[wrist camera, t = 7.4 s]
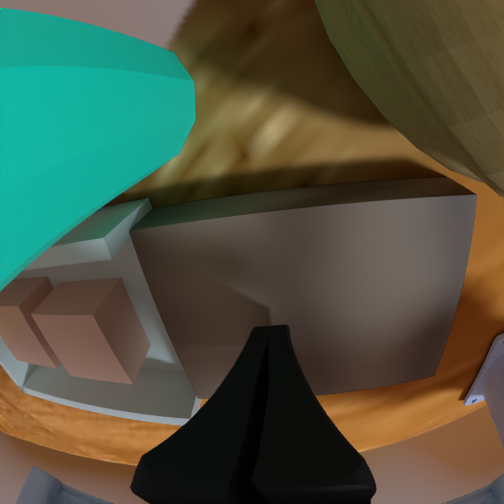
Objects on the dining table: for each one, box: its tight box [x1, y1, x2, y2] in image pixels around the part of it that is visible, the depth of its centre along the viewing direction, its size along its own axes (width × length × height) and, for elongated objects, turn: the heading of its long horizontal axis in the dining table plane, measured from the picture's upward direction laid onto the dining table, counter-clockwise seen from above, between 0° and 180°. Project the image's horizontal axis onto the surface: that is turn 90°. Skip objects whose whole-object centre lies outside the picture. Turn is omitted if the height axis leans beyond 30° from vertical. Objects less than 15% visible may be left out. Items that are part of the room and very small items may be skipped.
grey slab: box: [129, 177, 477, 399], centre depth 13 cm, size 13×10×2 cm
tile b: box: [0, 276, 61, 369], centre depth 15 cm, size 4×4×3 cm
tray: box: [0, 198, 201, 425], centre depth 14 cm, size 15×11×4 cm
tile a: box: [31, 277, 151, 384], centre depth 14 cm, size 4×4×3 cm
